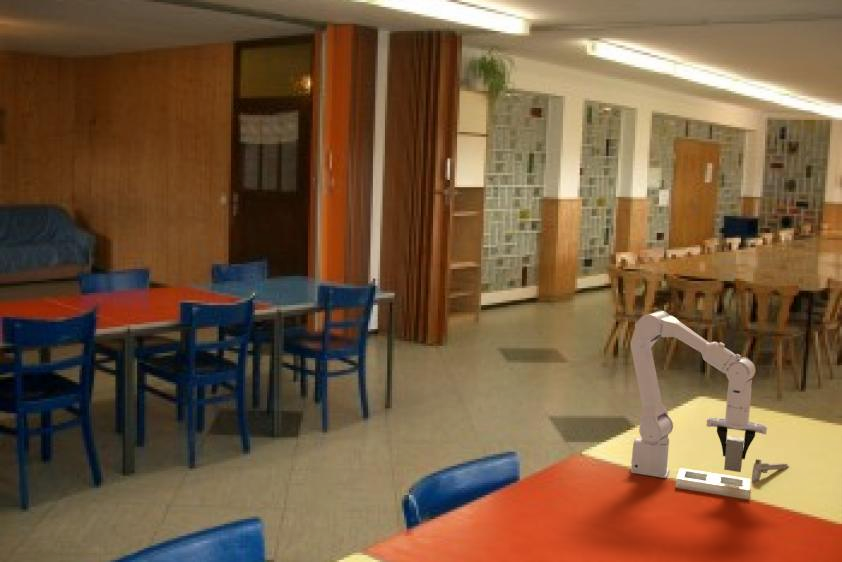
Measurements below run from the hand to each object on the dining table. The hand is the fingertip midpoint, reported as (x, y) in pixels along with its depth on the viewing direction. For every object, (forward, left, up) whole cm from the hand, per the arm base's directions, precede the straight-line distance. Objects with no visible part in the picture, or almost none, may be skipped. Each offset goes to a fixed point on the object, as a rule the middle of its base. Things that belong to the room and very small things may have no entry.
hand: (733, 456), depth 229 cm
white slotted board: (-5, 0, -9) cm, 10 cm away
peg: (0, 0, -3) cm, 3 cm away
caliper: (+9, +19, -10) cm, 23 cm away
